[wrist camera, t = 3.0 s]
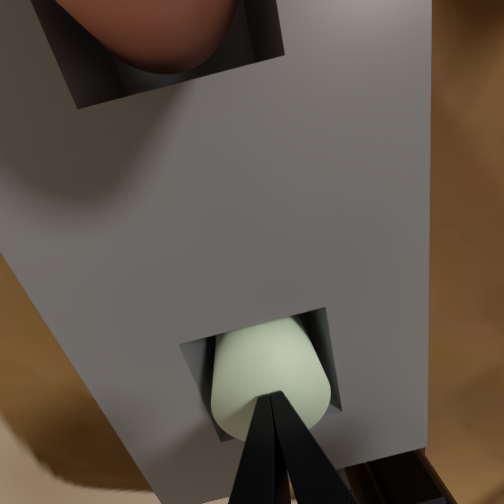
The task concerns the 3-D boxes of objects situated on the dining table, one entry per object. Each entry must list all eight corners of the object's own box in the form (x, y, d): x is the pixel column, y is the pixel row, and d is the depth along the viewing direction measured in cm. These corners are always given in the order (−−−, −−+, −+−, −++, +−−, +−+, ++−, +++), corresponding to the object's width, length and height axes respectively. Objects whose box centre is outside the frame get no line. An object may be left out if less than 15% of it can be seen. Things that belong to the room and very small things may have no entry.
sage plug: (300, 336, 14) (337, 427, 9) (230, 354, 14) (229, 454, 9) (286, 272, 12) (321, 339, 7) (208, 292, 12) (194, 372, 8)
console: (368, 362, 16) (427, 446, 11) (186, 408, 16) (167, 512, 11) (309, -235, 8) (440, -901, 3) (-70, -134, 8) (-560, -621, 3)
